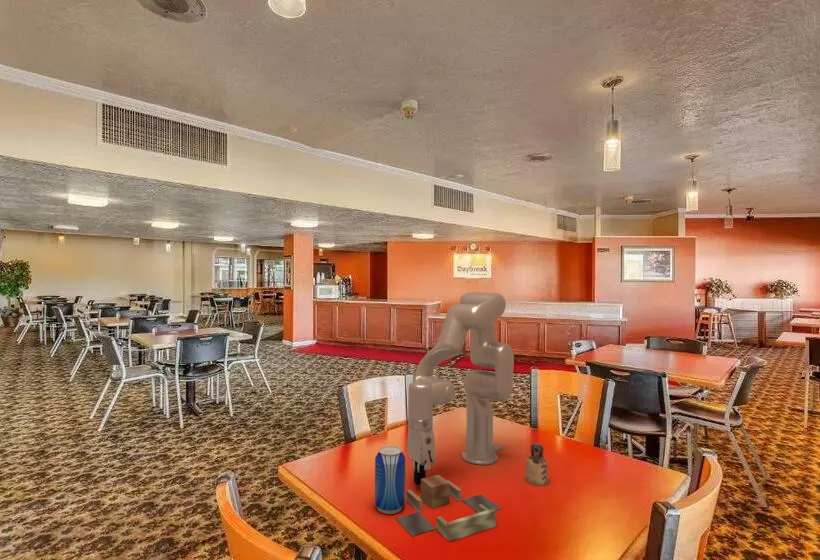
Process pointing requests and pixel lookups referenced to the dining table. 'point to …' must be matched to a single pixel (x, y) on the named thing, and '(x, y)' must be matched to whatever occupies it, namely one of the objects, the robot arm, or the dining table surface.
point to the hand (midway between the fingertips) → (419, 483)
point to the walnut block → (435, 491)
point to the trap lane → (453, 529)
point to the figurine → (536, 467)
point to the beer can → (390, 480)
